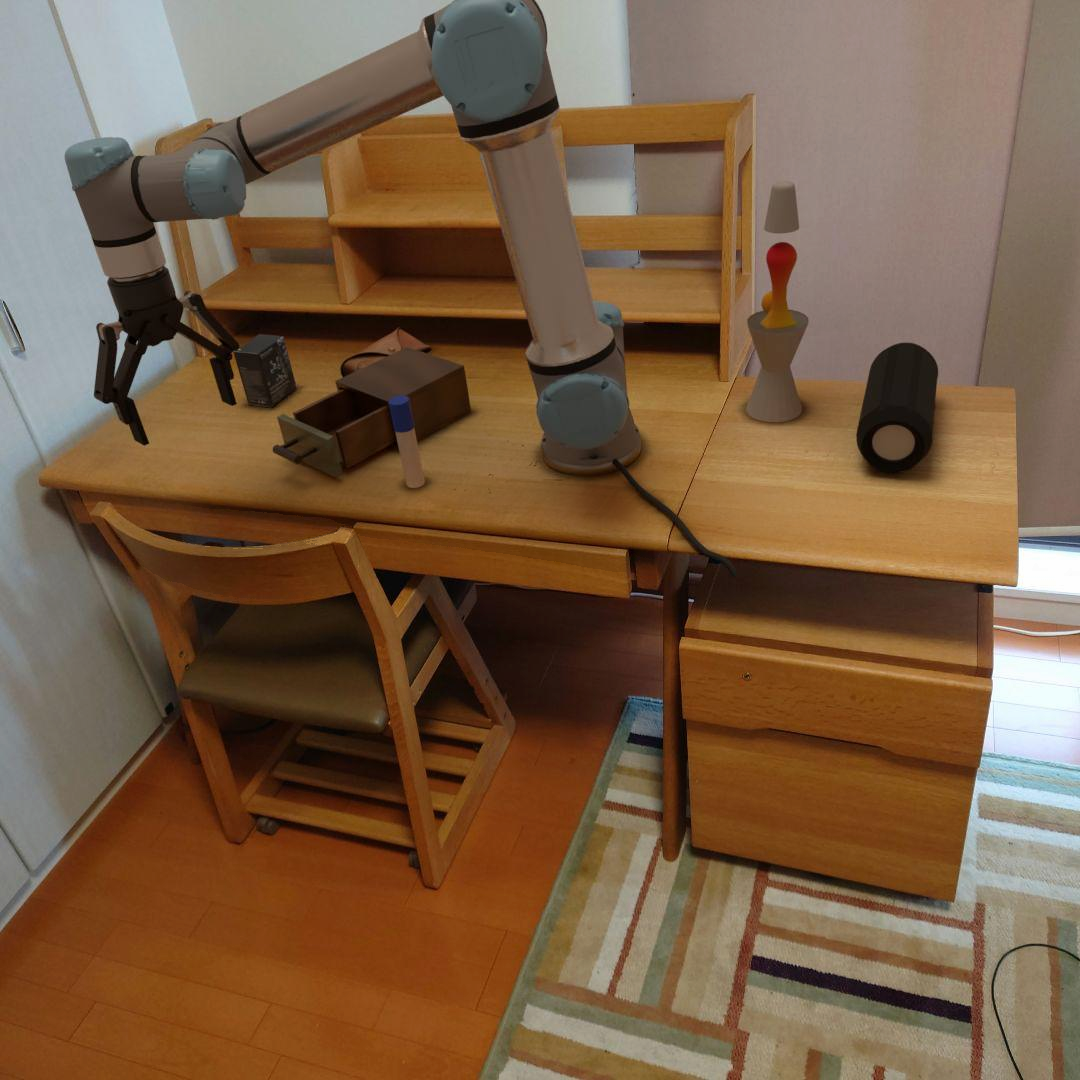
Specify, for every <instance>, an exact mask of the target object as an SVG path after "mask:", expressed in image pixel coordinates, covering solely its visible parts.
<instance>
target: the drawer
mask: <svg viewBox="0 0 1080 1080" xmlns="http://www.w3.org/2000/svg"><path fill="white" fill-rule="evenodd" d="M292 415H293V417H291V416H288V415H286V414H285V413H282V414H280V415H277V416H276V419H277V422H278V425H279V429H280V433H281V436H282V439H283V444H281V445H279V444H275V445H273V446H272V453H273V454H274V455H276V456H279V457H281V458H284V459H285V460H288V461H290V462H291V463H293V464H295V465H300V464H301V463H305V464H307V465H309V466H311V467H313V468H314V469H315V468H316V469H317V470H319V471H321V472H323V473H325V474H328V475H329V476H331V477H334V478H336V479H339V478H341V477H343V476H344V472H343V468H345V469H348V468H350V467H352V466H355V465H356V464H358V463H359V462H361V461H363V460H365V459H367V458H368V457H371V456H373V455H374V454H376V453H378V452H380V451H382V450H383V449H385V448H387V447H390V446H389V445H391V444H393V443H394V442H396V441H397V440H396V435H395V430H394V427H393V422H392V417H391V412H390V408H389V406H388V405H385V404H383V403H380V402H378V401H375V400H373V399H370V398H367V397H365V396H362V395H360V394H357V393H355V392H352V391H349V390H347V389H344V388H343V389H341V390H339V391H338V390H336V391H334V392H333V393H331V394H329V395H327V396H326V395H325V396H324V397H322V398H320V399H318V400H316V401H314V402H312V403H310V404H307V405H306V406H304V407H301V408H299V409H297V410H296V411H293V412H292ZM342 467H343V468H342Z"/></svg>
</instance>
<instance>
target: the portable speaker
mask: <svg viewBox="0 0 1080 1080" xmlns="http://www.w3.org/2000/svg"><path fill="white" fill-rule="evenodd" d="M867 377H868V378H867V381H866V387H865V391H864V394H863V395H864V396H863V399H862V406H861V410H860V415H859V419H858V424H857V429H856V435H855V436H856V438H855V439H856V445H857V448H858V451H859V453H860V454H861V455H862V457H863V458H864V460H865V461H866V463H868V465H869V466H870V467H872V468H874V470H878V471H879V472H883V473H888V474H898V473H903V472H907V471H909V470H912V469H913V468H914V467H916V465H918V464H919V463H921V462H922V461H923V460H924V459H925V458H926V456H927V455H928V454H929V452H930V451H931V448H932V445H933V433H934V422H935V410H936V405H937V404H936V403H937V387H938V378H939V367H938V363H937V360H936V359H935V357H934V356H933V354H931V353H930V351H928V350H927V349H926V348H924V347H923V346H921V345H919V344H917V343H914V342H908V341H907V342H899V343H895V344H893V345H891V346H888V347H887V348H885V349H883V350H882V351H881V352H879V353H878V355H877V356H876V357H874V359H873V361H872V363H871V364H870V368H869V372H868V376H867Z"/></svg>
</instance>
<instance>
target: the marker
mask: <svg viewBox="0 0 1080 1080" xmlns="http://www.w3.org/2000/svg"><path fill="white" fill-rule="evenodd" d="M388 403H389V408H390V412H391V417H392V422H393V427H394V430H395V433H396V437H397V442H398V447H399V450H398V451H399V452H398V453H399V456H400V460H401V465H402V470H403V471H402V472H403V475H404V480H405V484H406V486H407V488H410V489H418V488H420V487H422V486H424V485H425V483H426V480H425V475H424V469H423V466H422V461H421V456H420V455H421V454H420V450H419V445H418V442H417V439H416V434H415V429H414V420H413V415H412V410H411V405H410V400H409V397H407V396H404V395H400V396H395V397H392V398H391V399H390V400H389V401H388Z"/></svg>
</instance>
